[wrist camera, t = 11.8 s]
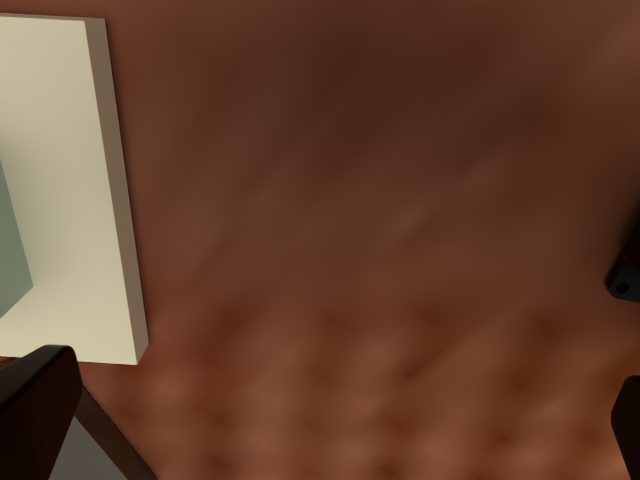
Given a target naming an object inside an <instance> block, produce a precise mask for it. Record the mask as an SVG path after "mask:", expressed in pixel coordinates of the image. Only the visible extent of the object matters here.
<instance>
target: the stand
mask: <svg viewBox="0 0 640 480" xmlns="http://www.w3.org/2000/svg"><path fill="white" fill-rule="evenodd" d="M20 358H22V357H14V358H11V359H8V360H5V361H2V362H0V369H2V368H4V367H5V366H7V365H9V364H11V363H13V362H14V361H16V360H18V359H20ZM49 480H157V478H156V477H155V475H154V474H153V473H152V472H151V470H150V469H149V468H148V467H147V465H146V464H145V463H144V462H143V460H142V459H141V458H140V457H139V455H138V454H137V453H136V452H135V450H134V449H133V448H132V447H131V445H130V444H129V443H128V442H127V440H126V439H125V438H124V437H123V435H122V434H121V433H120V432H119V430H118V429H117V428H116V427H115V425H114V424H113V423H112V422H111V420H110V419H109V418H108V417H107V415H106V414H105V413H104V412H103V410H102V409H101V408H100V407H99V405H98V404H97V403H96V402H95V401H94V399H93V398H92V397H91V396H90V394H89V393H88V392H87V391H86V389H85V388H84V387H83V390H82V396H81V399H80V402H79V404H78V407H77V409H76V412H75V414H74V417H73V419H72V422H71V425H70V427H69V430H68V432H67V435H66V437H65V440H64V442H63V445H62V447H61V450H60V453H59V455H58V458H57V460H56V463H55V465H54V468H53V470H52V473H51V475H50V478H49Z"/></svg>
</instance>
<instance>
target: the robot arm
mask: <svg viewBox="0 0 640 480" xmlns="http://www.w3.org/2000/svg"><path fill="white" fill-rule="evenodd" d="M621 283H624V284H623V285H622V287H619V288H616V287H617V286H618V285H619V284H621ZM605 287H606V289H607V290H608V292H609V293H610V294H611V295H612V296H613V297H615V298H619V299H623V300H628V301H633V302H638V303H640V220H639V221H638V223H637V225H636V227H635V229H634V230H633V232H632V234H631V236H630V238H629V239H628V241H627V243H626V245H625V247H624V248H623V250H622V254H621V255H620V257H619V259H618V261H617V263H616V264H615V266H614V268H613V270H612V272H611V273H610V275H609V277H608V279H607V281H606V284H605ZM82 390H83V384H82V379H81V374H80V370H79V366H78V361H77V357H76V353H75V350H74V349H73V348H72V347H71V346H69V345H55V344H48V345H43V346H41V347H39V348H38V349H36V350H34V351H32V352H31V353H29V354H27V355H25V356H23V357H22V358H20V359H18V360H16V361H14V362H13V363H11V364H9V365H7V366H5V367H4V368H2V369H0V480H49V478H50V475H51V473H52V470H53V468H54V465H55V463H56V460H57V458H58V455H59V453H60V450H61V447H62V445H63V442H64V440H65V437H66V435H67V432H68V430H69V427H70V425H71V422H72V419H73V417H74V414H75V412H76V409H77V407H78V404H79V402H80V399H81V396H82ZM611 425H612V429H613V431H614V434H615V437H616V440H617V442H618V445H619V448H620V451H621V453H622V456H623V459H624V462H625V464H626V467H627V470H628V473H629V475H630V478H631V480H640V376H639V375H632V376H629V377H628V378H627V379H625V381H624V383H623V385H622V388H621V390H620V392H619V395H618V397H617V399H616V402H615V404H614V407H613V409H612V412H611Z"/></svg>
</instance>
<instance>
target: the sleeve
mask: <svg viewBox="0 0 640 480" xmlns="http://www.w3.org/2000/svg"><path fill="white" fill-rule="evenodd" d="M33 287H34V286H33V283H32V279H31V275H30V271H29V267H28V264H27V260H26V256H25V252H24V248H23V244H22V241H21V237H20V233H19V229H18V225H17V222H16V218H15V214H14V210H13V206H12V202H11V199H10V195H9V191H8V187H7V183H6V180H5V176H4V172H3V168H2V164H1V160H0V319H1V318H2V317H3V316H4V315H5V314H6V313H7V312H8V311H9V310H10V309H11V308H12V307H13V306H14V305H15V304H16V303H17V302H18V301H19V300H20V299H21V298H22V297H23V296H24V295H25V294H26V293H28V292H29V291H30V290H31V289H32V288H33Z"/></svg>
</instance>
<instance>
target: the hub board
mask: <svg viewBox="0 0 640 480" xmlns="http://www.w3.org/2000/svg"><path fill="white" fill-rule="evenodd" d="M0 160H1V164H2V168H3V172H4V176H5V180H6V183H7V187H8V191H9V195H10V199H11V202H12V206H13V210H14V214H15V218H16V222H17V225H18V229H19V233H20V237H21V241H22V244H23V248H24V252H25V256H26V260H27V264H28V267H29V271H30V275H31V279H32V283H33V286H34V287H33V288H32V289H31V290H30V291H29V292H28V293H26V294H25V295H24V296H23V297H22V298H21V299H20V300H19V301H18V302H17V303H16V304H15V305H14V306H13V307H12V308H11V309H10V310H9V311H8V312H7V313H6V314H5V315H4V316H3V317H2V318H1V319H0V356H9V357H23V356H25V355H27V354H29V353H31V352H32V351H34V350H36V349H38V348H39V347H41V346H43V345H48V344H55V345H69V346H71V347H72V348H73V349H74V350H75V353H76V357H77V361H85V362H100V363H116V364H131V365H137V364H138V362H139V360H140V359H141V357H142V355H143V353H144V351H145V349H146V348H147V346H148V344H149V341H148V334H147V326H146V319H145V312H144V304H143V297H142V290H141V282H140V275H139V268H138V260H137V253H136V246H135V238H134V231H133V224H132V216H131V209H130V202H129V194H128V187H127V180H126V172H125V165H124V158H123V150H122V143H121V136H120V128H119V121H118V114H117V106H116V99H115V92H114V84H113V77H112V70H111V62H110V55H109V48H108V40H107V33H106V26H105V19H103V18H85V17H67V16H49V15H31V14H13V13H0Z"/></svg>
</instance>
